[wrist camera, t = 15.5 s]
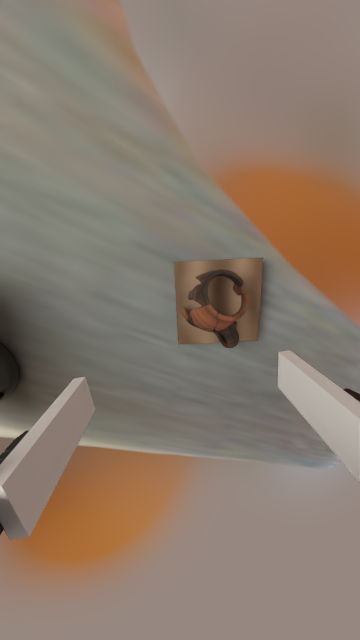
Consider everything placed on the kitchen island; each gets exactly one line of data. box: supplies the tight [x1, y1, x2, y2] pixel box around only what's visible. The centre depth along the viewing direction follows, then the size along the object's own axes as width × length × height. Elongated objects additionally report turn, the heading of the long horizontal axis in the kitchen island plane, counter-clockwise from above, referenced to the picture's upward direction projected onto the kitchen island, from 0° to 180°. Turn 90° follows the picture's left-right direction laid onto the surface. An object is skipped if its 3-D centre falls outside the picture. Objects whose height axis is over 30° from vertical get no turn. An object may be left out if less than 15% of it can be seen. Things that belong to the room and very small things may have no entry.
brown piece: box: [181, 269, 249, 348], centre depth 30 cm, size 12×9×8 cm
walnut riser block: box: [174, 258, 263, 344], centre depth 35 cm, size 14×14×5 cm
